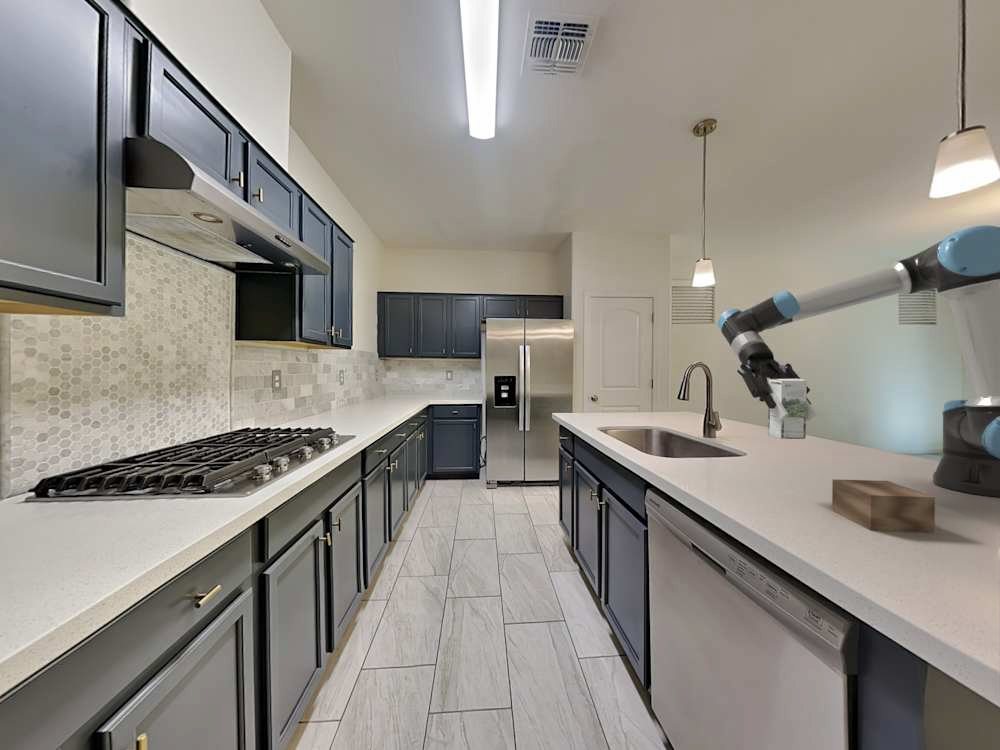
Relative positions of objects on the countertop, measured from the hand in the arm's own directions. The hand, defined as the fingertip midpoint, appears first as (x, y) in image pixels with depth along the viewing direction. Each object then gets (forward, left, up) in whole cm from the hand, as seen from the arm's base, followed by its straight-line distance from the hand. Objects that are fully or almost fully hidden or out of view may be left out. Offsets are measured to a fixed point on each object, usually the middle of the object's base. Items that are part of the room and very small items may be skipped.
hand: (798, 417), depth 94 cm
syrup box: (+1, -4, -6) cm, 7 cm away
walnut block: (-10, +11, -20) cm, 25 cm away
